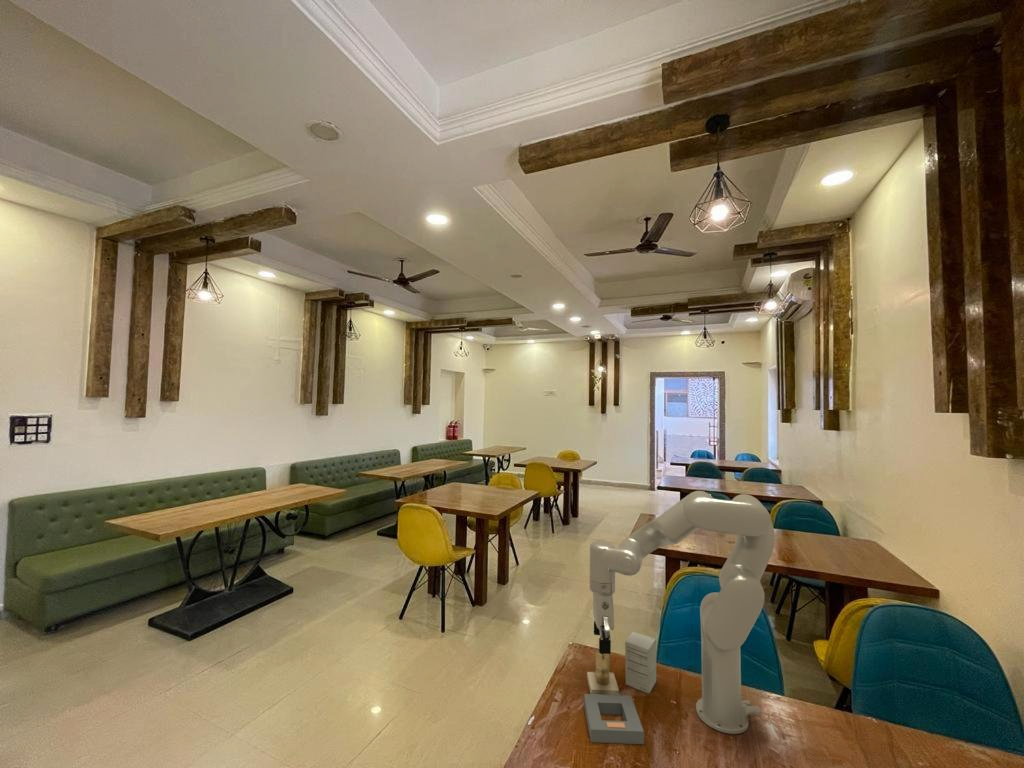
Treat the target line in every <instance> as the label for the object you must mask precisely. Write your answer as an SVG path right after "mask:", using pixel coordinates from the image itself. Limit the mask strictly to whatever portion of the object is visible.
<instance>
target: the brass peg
mask: <svg viewBox="0 0 1024 768" xmlns="http://www.w3.org/2000/svg"><path fill="white" fill-rule="evenodd" d="M610 654H611V653H610ZM610 654H600V653H599V648H598V649H597V650H595V672H596V682H597V683H598V684H600V685H608V684H609V683H610V673H611V672H610V670H611V669H610V663H611V662H610V660H611V659H610V656H611V655H610Z"/></svg>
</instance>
